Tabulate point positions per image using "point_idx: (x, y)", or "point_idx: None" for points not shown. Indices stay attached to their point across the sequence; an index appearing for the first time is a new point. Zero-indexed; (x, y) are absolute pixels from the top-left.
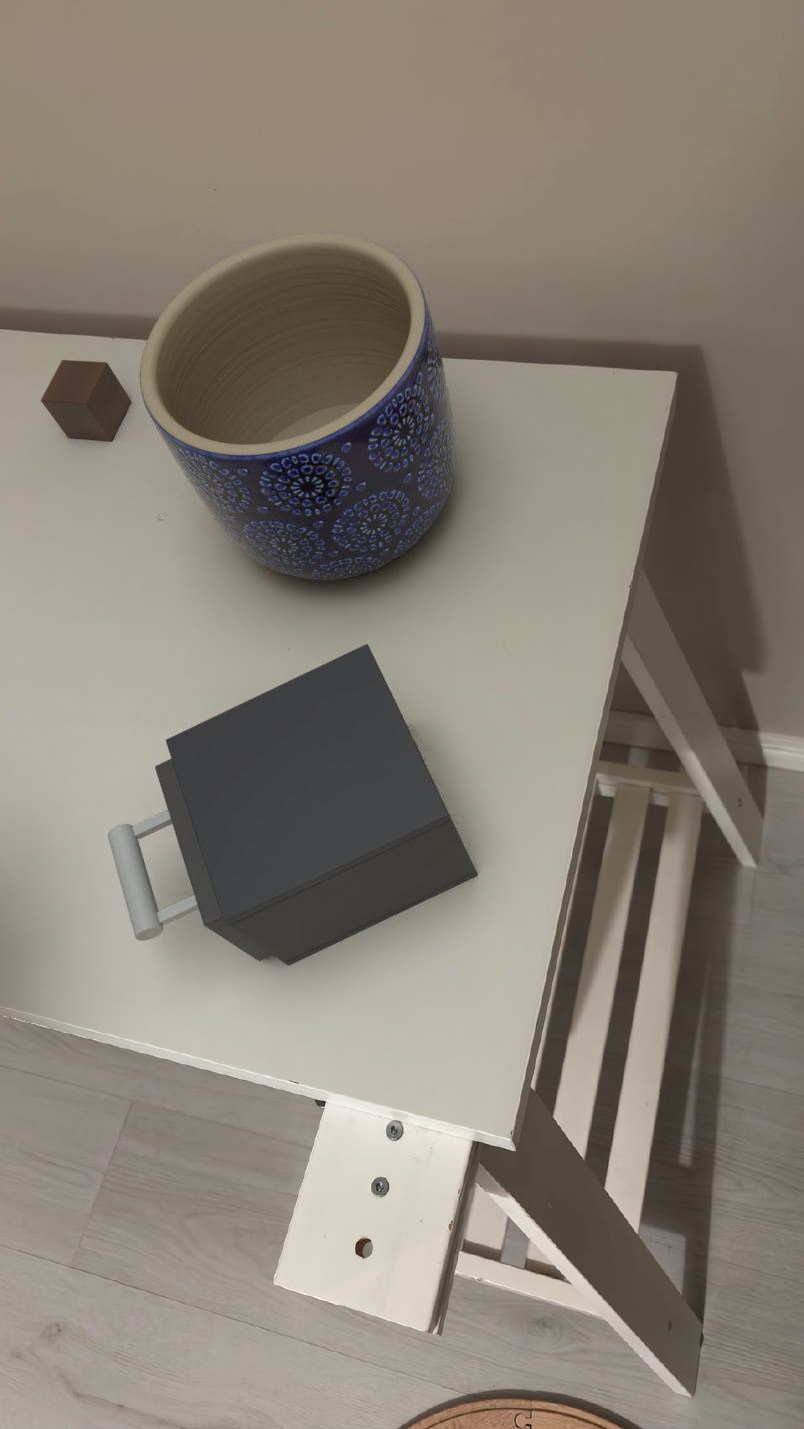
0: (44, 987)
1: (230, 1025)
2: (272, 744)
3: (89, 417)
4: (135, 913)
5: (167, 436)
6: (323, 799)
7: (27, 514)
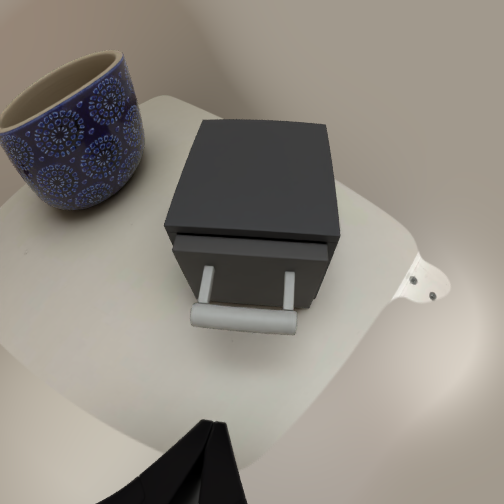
0: (238, 456)
1: (333, 345)
2: (224, 168)
3: None
4: (278, 321)
5: (29, 125)
6: (284, 158)
7: None
